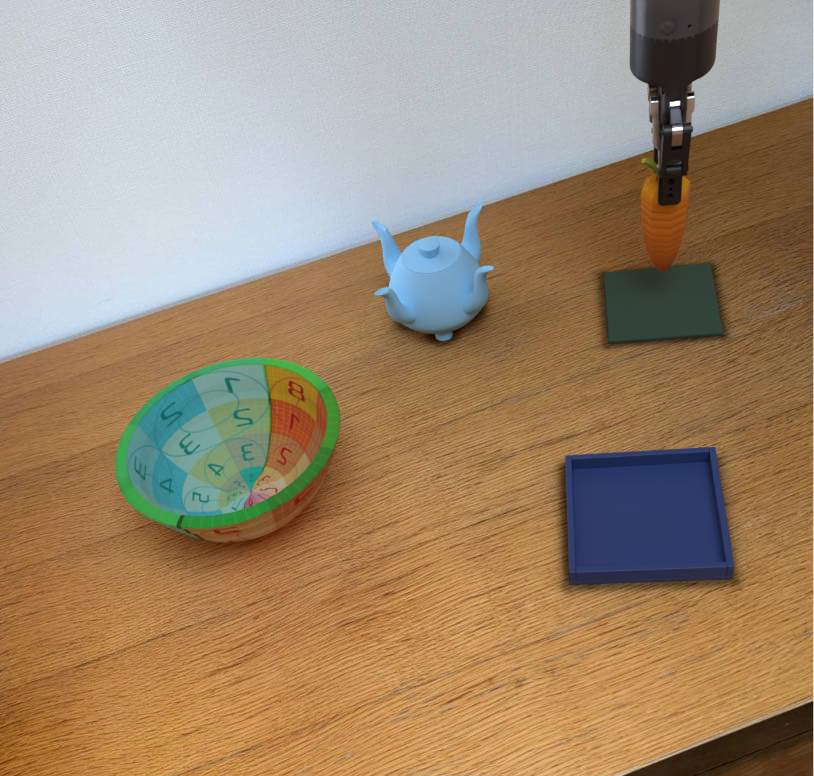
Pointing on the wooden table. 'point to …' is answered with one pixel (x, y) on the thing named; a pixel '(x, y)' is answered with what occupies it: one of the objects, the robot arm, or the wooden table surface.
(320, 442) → the bowl
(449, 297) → the teapot
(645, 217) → the carrot
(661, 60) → the robot arm
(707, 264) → the mat
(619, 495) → the tray
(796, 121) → the wooden table surface
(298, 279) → the wooden table surface
